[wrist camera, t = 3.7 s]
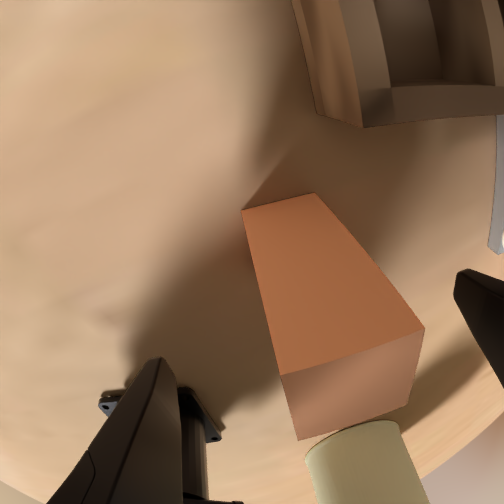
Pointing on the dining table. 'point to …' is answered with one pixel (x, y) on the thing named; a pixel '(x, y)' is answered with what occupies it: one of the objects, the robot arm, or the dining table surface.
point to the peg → (330, 317)
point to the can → (365, 467)
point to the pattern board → (498, 194)
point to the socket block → (403, 58)
